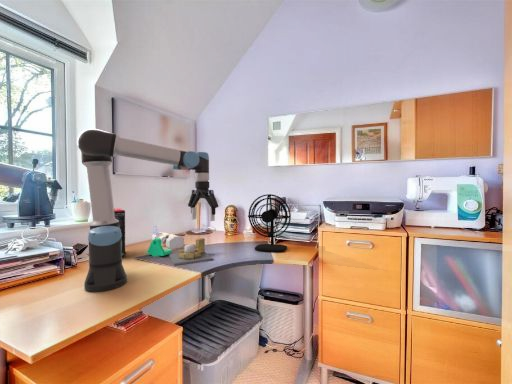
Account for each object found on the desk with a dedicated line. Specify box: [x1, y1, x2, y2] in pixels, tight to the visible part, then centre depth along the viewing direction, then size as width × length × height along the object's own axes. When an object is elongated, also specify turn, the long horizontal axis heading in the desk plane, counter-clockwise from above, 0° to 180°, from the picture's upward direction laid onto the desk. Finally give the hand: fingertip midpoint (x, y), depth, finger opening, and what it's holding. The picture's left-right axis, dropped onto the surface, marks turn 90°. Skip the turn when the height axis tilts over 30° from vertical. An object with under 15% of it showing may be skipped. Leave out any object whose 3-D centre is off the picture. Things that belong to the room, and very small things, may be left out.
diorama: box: [151, 225, 185, 250], centre depth 175 cm, size 25×10×13 cm, turn 47°
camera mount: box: [146, 237, 173, 258], centre depth 150 cm, size 12×8×10 cm, turn 68°
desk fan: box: [247, 193, 292, 253], centre depth 160 cm, size 27×18×35 cm, turn 73°
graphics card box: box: [114, 208, 126, 258], centre depth 150 cm, size 17×7×27 cm, turn 37°
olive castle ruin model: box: [178, 237, 206, 259], centre depth 145 cm, size 16×12×8 cm
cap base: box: [168, 243, 213, 267], centre depth 143 cm, size 20×20×7 cm
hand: (203, 220), depth 138 cm, fingers open, 13 cm apart
